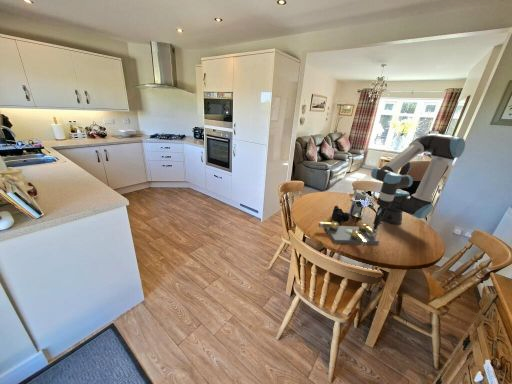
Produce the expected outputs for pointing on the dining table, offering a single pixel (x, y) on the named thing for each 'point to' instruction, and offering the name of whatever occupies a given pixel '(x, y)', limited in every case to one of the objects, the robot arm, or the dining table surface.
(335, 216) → the camera
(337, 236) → the level plate
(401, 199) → the robot arm
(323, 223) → the knob
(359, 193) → the milk carton
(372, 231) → the knob
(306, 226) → the dining table surface
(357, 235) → the knob left
